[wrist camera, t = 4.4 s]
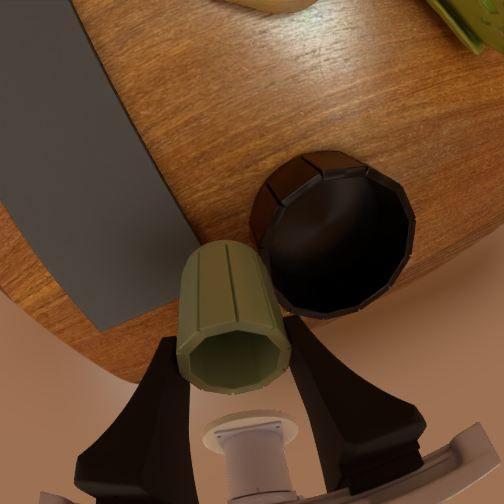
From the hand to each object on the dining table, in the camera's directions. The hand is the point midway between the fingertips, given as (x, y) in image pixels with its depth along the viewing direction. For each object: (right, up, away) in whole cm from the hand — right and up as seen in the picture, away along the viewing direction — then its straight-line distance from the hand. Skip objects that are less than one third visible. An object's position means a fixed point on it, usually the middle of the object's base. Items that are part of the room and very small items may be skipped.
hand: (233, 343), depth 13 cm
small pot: (-1, +3, +4) cm, 5 cm away
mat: (-21, +26, -7) cm, 34 cm away
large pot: (+6, +6, +9) cm, 12 cm away
